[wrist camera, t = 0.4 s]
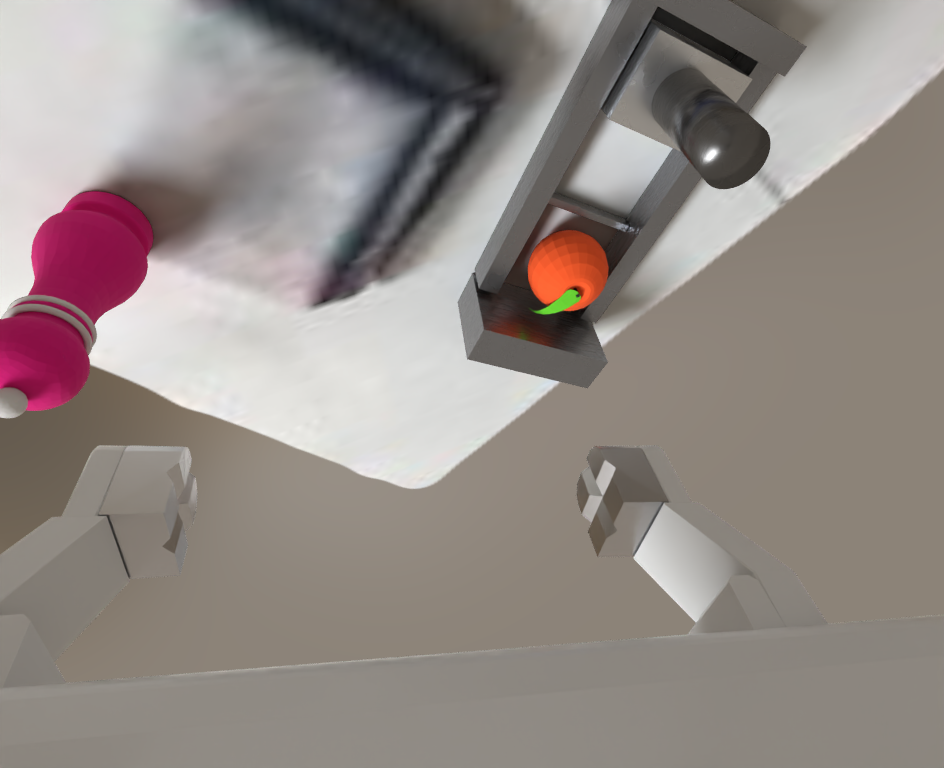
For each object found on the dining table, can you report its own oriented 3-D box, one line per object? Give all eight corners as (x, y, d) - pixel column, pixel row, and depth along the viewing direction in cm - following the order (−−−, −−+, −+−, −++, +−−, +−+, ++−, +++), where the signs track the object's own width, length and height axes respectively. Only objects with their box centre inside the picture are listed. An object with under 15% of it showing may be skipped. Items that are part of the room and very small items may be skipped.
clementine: (542, 299, 58) (558, 348, 53) (496, 257, 54) (509, 306, 49) (610, 247, 54) (634, 294, 49) (567, 199, 50) (588, 244, 45)
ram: (640, 12, 40) (718, 79, 31) (728, 60, 43) (822, 134, 34) (593, 97, 44) (651, 179, 35) (677, 136, 47) (750, 221, 38)
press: (639, -53, 38) (685, -24, 32) (778, 29, 42) (839, 66, 37) (457, 302, 57) (467, 359, 51) (567, 332, 61) (587, 388, 56)
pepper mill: (50, 174, 44) (-99, 358, 30) (158, 196, 46) (66, 377, 32) (65, 255, 48) (-58, 447, 34) (162, 272, 50) (83, 459, 37)
